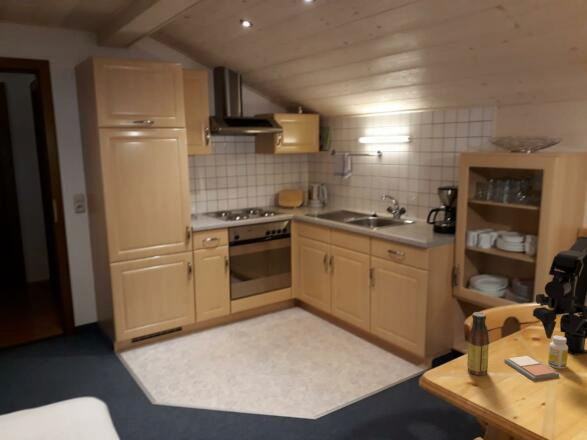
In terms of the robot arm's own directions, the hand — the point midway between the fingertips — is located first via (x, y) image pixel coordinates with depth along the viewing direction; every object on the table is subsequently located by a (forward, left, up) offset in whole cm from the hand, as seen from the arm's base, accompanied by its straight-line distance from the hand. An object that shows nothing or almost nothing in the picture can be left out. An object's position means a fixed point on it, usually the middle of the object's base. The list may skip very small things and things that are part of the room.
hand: (560, 336), depth 155 cm
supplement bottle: (0, 0, -10) cm, 10 cm away
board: (+11, 0, -10) cm, 15 cm away
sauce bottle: (+29, -3, -10) cm, 31 cm away
